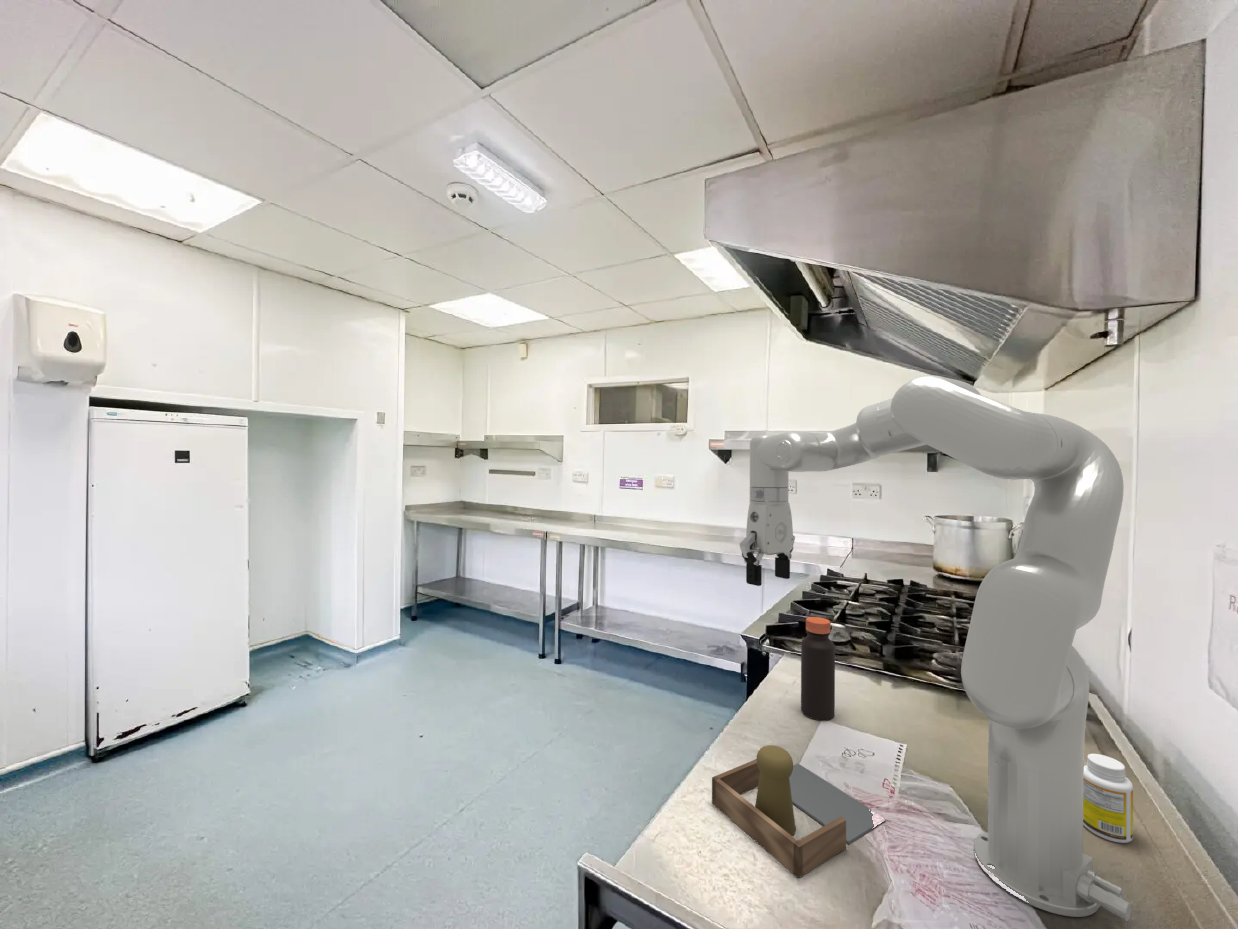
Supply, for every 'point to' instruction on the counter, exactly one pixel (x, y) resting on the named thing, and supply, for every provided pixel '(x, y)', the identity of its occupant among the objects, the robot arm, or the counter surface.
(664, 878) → the counter surface
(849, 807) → the charcoal mat
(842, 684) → the counter surface
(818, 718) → the vinegar
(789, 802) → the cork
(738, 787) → the wooden u-shaped frame
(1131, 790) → the supplement bottle
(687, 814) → the counter surface
